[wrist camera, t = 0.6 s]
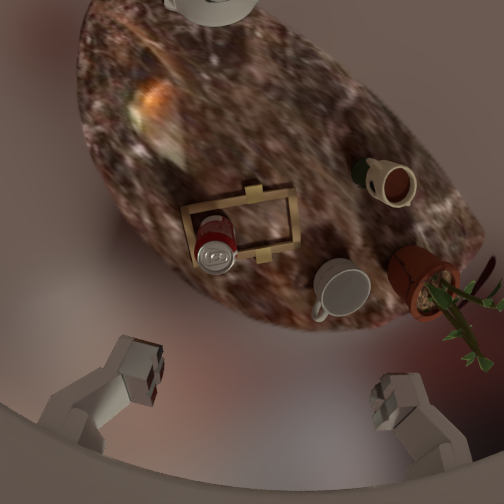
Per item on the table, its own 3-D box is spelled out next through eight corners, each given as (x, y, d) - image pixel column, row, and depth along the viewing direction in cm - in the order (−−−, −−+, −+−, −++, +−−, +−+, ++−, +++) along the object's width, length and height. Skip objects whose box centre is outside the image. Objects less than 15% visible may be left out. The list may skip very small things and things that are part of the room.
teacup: (340, 242, 59) (356, 258, 52) (364, 275, 63) (380, 294, 56) (287, 284, 61) (296, 305, 54) (315, 313, 65) (326, 335, 58)
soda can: (197, 214, 54) (191, 237, 43) (234, 213, 54) (238, 236, 43) (198, 248, 56) (194, 278, 45) (234, 247, 57) (237, 277, 46)
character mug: (334, 166, 52) (365, 179, 41) (358, 140, 51) (394, 146, 39) (369, 203, 56) (403, 224, 44) (391, 179, 54) (428, 194, 43)
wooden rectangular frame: (178, 198, 52) (177, 200, 51) (293, 178, 53) (295, 179, 52) (196, 271, 58) (195, 274, 57) (300, 253, 59) (302, 255, 58)
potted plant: (400, 294, 66) (483, 392, 34) (359, 268, 62) (452, 382, 30) (440, 236, 61) (543, 313, 29) (403, 202, 57) (529, 279, 25)
